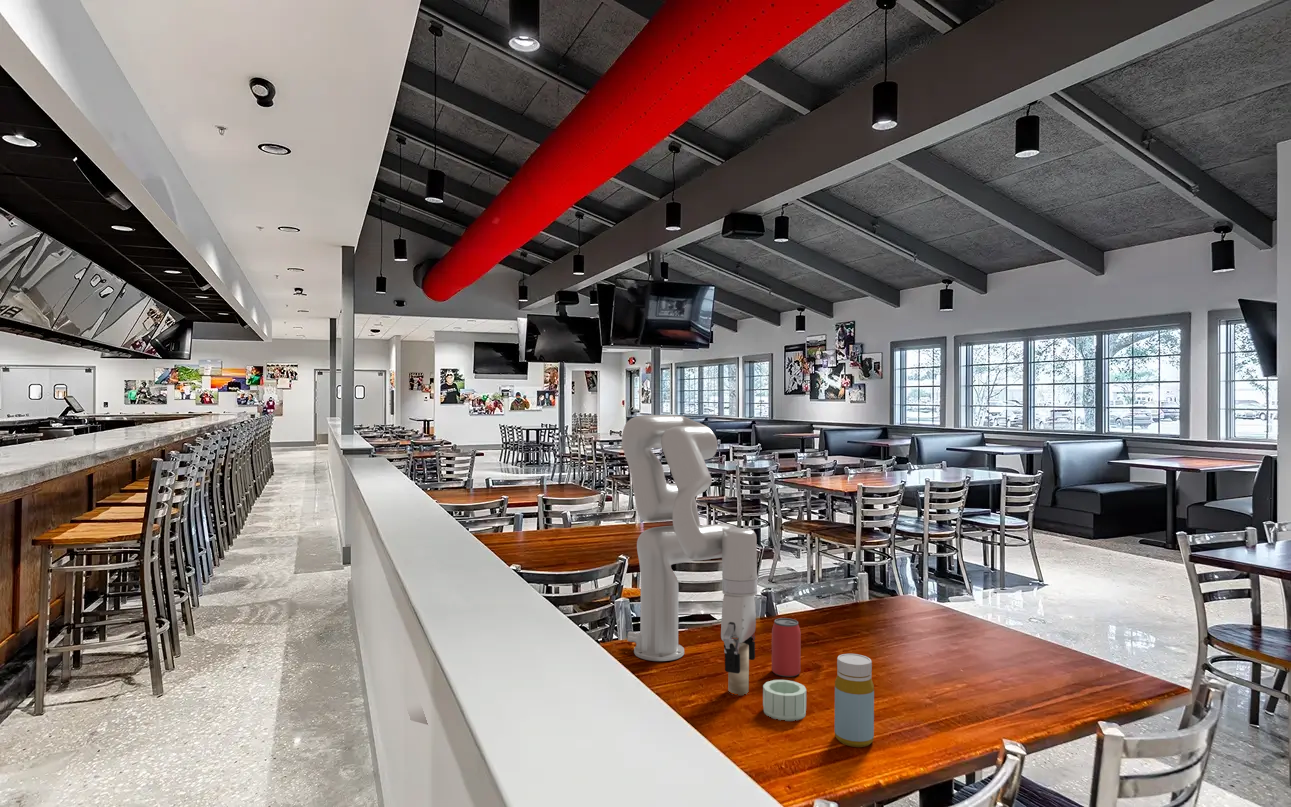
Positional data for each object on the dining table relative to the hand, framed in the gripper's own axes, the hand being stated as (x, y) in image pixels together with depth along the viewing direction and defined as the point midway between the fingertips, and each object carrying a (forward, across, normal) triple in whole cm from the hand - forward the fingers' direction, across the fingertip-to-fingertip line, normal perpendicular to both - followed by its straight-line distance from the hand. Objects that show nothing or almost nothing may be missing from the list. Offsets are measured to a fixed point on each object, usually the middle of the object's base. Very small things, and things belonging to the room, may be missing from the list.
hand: (740, 665), depth 158 cm
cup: (+6, +6, +11) cm, 14 cm away
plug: (+6, 0, -1) cm, 6 cm away
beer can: (+6, -16, +5) cm, 18 cm away
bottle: (+7, +12, +26) cm, 30 cm away
